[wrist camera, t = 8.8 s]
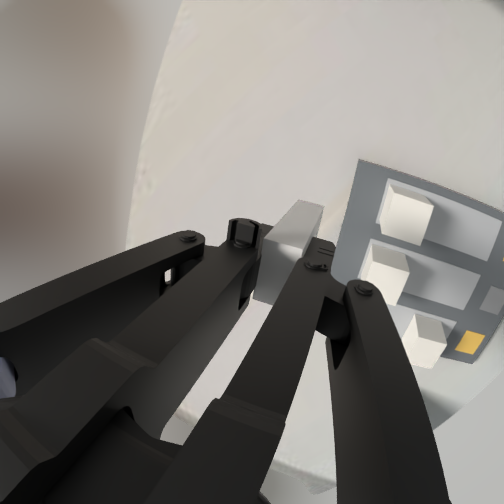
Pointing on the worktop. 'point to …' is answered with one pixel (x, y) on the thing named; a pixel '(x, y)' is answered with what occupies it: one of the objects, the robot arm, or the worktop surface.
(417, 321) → the off-white cube
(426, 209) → the white cube
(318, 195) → the worktop surface
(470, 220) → the switch bank
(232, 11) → the worktop surface
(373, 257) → the cream cube block
